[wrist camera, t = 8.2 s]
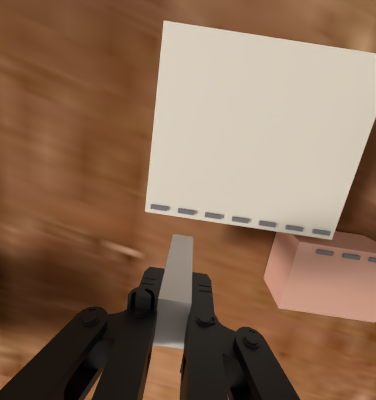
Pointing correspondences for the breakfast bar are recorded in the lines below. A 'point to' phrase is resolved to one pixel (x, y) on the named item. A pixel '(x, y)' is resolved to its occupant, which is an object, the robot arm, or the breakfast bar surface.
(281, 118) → the board
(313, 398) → the breakfast bar surface
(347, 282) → the stub
